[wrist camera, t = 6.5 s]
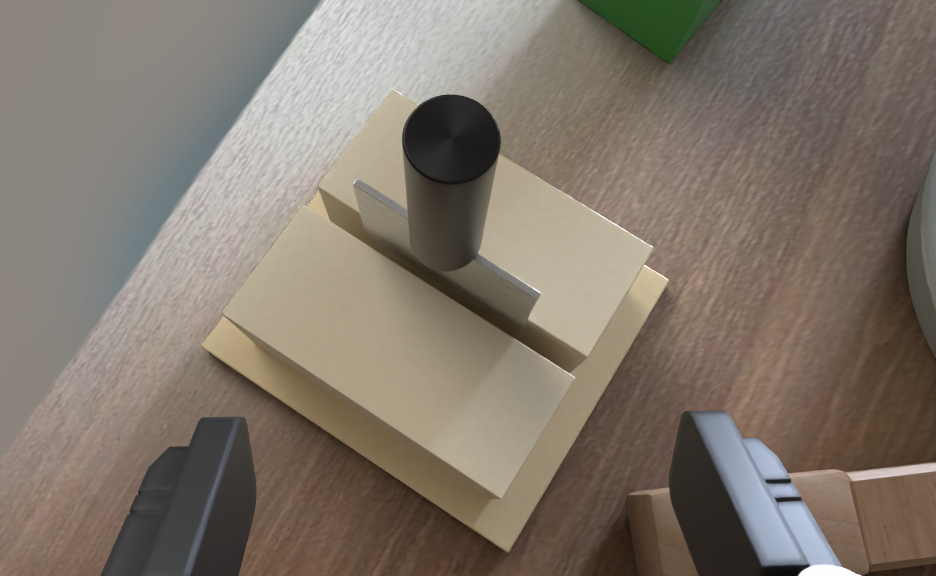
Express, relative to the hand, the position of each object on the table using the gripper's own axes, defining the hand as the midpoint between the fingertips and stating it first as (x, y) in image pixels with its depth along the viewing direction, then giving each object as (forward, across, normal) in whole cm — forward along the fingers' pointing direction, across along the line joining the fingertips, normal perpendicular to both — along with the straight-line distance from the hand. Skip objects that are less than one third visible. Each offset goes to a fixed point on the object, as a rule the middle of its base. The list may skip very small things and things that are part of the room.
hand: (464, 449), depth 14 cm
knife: (+19, 0, +7) cm, 20 cm away
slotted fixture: (+23, 0, +11) cm, 26 cm away
